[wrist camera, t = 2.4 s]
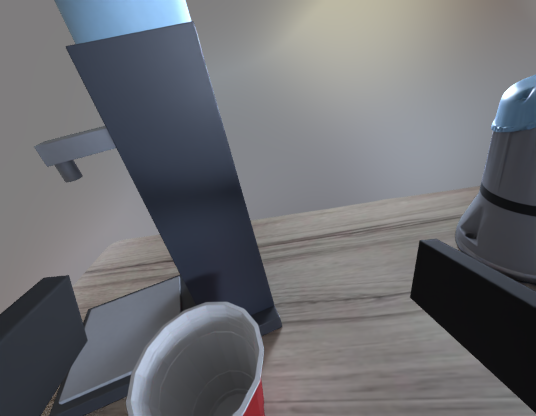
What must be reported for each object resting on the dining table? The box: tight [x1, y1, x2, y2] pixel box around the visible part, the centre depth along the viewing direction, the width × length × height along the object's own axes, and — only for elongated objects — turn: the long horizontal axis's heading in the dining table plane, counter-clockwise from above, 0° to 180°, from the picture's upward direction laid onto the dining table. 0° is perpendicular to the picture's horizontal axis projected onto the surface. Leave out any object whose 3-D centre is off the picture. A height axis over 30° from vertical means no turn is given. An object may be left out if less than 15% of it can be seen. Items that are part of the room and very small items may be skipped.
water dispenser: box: [34, 0, 282, 416], centre depth 27 cm, size 28×16×47 cm, turn 109°
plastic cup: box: [126, 302, 265, 416], centre depth 23 cm, size 11×11×12 cm
